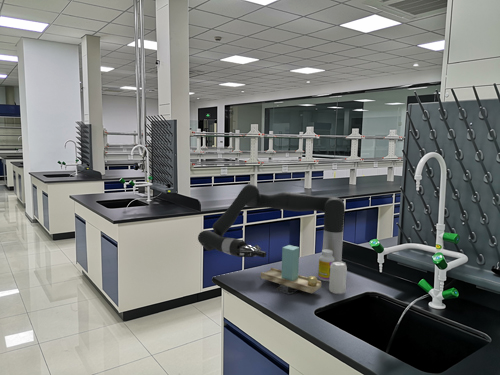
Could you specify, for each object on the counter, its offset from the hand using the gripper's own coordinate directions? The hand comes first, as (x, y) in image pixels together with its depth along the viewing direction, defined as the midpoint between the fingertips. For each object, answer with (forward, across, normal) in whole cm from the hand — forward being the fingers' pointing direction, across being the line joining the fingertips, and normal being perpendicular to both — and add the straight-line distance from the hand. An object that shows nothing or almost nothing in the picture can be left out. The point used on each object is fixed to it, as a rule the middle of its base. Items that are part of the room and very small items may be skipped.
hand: (265, 254), depth 155 cm
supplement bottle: (+20, +19, +12) cm, 30 cm away
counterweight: (+23, 0, +7) cm, 24 cm away
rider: (+12, 0, +7) cm, 14 cm away
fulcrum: (+13, 0, +12) cm, 17 cm away
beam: (+13, 0, +9) cm, 16 cm away
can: (+29, +10, +12) cm, 33 cm away
